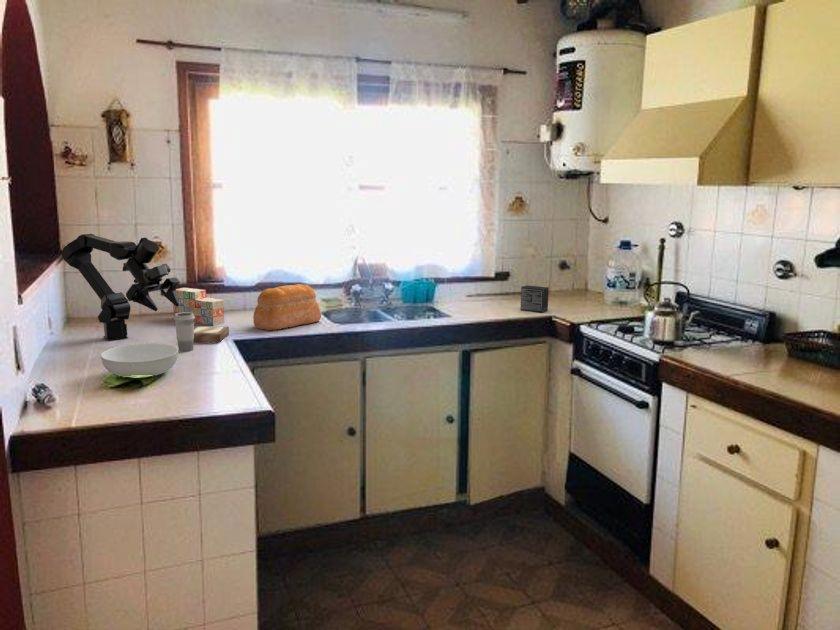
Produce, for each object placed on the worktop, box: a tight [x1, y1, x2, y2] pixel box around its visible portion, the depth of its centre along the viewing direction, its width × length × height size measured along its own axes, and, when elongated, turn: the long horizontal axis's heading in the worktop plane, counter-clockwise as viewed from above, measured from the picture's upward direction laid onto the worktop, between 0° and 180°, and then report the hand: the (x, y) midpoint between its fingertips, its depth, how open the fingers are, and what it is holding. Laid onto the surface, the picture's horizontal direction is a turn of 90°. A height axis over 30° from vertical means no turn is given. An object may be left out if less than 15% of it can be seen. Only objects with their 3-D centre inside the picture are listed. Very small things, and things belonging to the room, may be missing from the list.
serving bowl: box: [100, 342, 180, 376], centre depth 201 cm, size 21×21×7 cm
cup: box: [173, 312, 195, 352], centre depth 229 cm, size 7×7×12 cm
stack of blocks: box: [172, 287, 225, 326], centre depth 272 cm, size 21×6×12 cm, turn 61°
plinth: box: [193, 325, 230, 344], centre depth 245 cm, size 12×12×3 cm
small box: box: [520, 284, 549, 314], centre depth 301 cm, size 11×6×10 cm, turn 58°
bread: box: [252, 283, 322, 331], centre depth 268 cm, size 14×26×15 cm, turn 139°
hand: (167, 308), depth 231 cm, fingers open, 9 cm apart
